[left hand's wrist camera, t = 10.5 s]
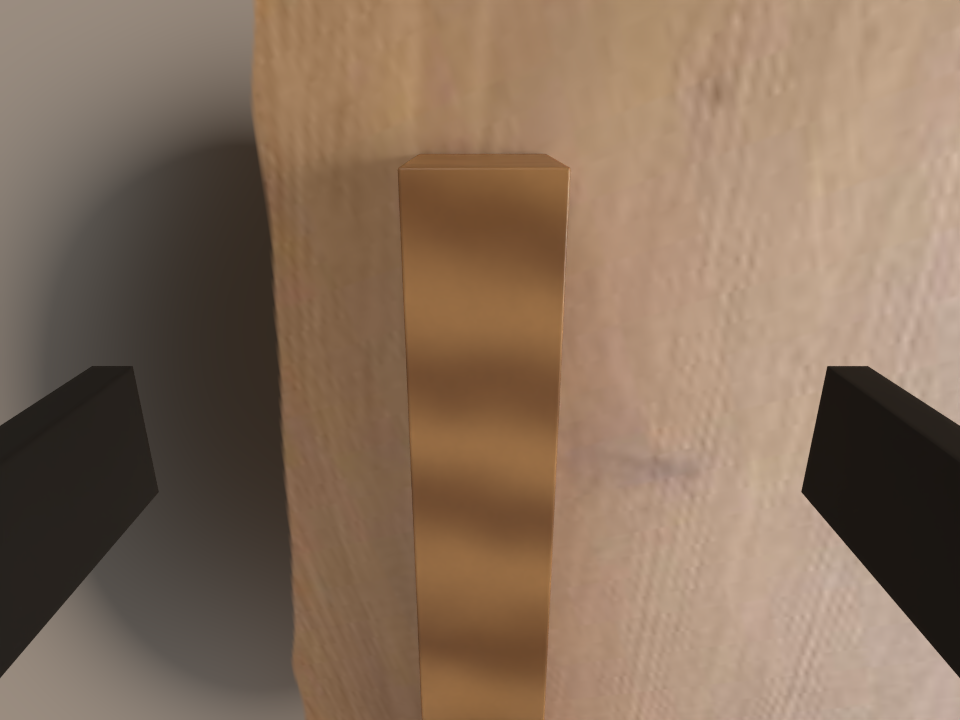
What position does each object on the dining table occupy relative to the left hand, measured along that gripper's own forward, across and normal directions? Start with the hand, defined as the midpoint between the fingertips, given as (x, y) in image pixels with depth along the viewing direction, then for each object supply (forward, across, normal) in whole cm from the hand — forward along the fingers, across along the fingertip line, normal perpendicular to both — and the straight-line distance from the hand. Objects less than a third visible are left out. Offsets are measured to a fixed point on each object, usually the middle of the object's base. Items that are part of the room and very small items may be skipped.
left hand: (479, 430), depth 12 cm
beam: (+20, 0, -29) cm, 35 cm away
